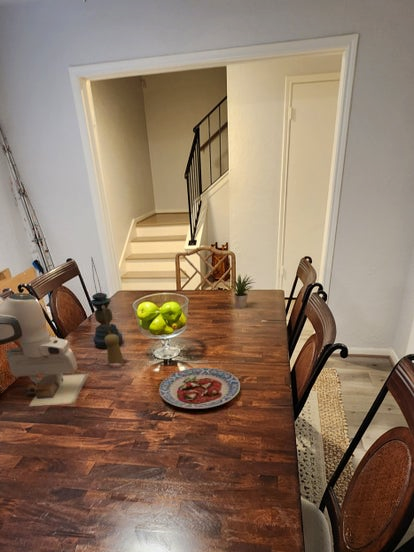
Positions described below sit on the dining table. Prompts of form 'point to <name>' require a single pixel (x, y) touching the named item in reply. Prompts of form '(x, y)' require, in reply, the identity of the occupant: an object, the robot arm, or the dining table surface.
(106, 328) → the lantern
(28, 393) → the mark
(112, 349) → the cork
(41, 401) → the board
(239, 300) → the house plant
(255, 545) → the dining table surface
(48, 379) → the eraser
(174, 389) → the ceramic plate
